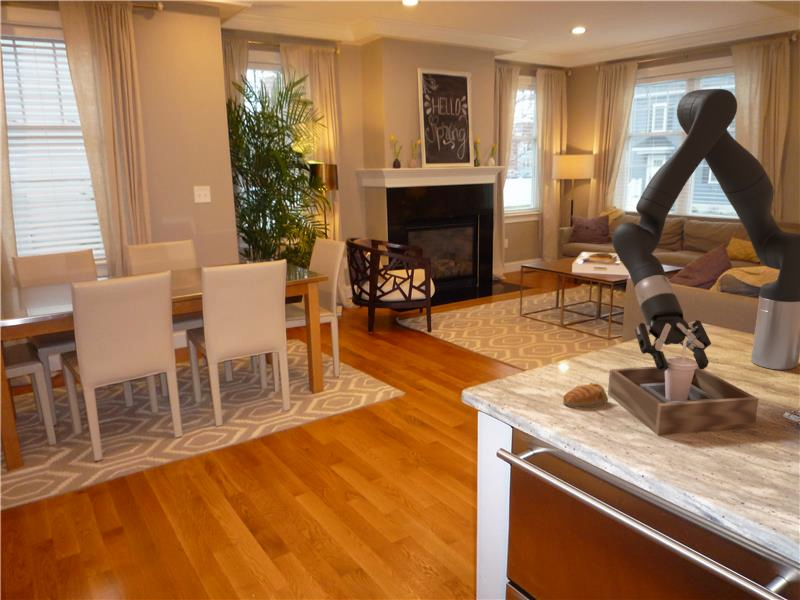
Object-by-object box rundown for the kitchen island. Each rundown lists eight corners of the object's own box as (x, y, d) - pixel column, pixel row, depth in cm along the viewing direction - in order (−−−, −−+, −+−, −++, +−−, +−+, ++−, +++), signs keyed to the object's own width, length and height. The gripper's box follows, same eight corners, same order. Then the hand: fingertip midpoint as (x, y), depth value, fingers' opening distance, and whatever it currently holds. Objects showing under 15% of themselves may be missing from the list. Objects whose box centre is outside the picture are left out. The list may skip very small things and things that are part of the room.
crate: (691, 389, 132) (693, 364, 130) (754, 427, 112) (758, 398, 111) (607, 394, 129) (609, 369, 128) (658, 435, 110) (660, 405, 109)
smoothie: (696, 412, 117) (704, 345, 114) (662, 409, 118) (669, 343, 115) (687, 400, 123) (694, 336, 120) (655, 398, 125) (661, 335, 122)
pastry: (577, 413, 121) (577, 396, 120) (554, 402, 127) (555, 385, 126) (610, 404, 125) (611, 387, 124) (587, 394, 131) (588, 378, 130)
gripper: (634, 293, 122) (660, 362, 113) (697, 290, 123) (727, 358, 115) (619, 311, 128) (643, 378, 120) (679, 308, 130) (707, 374, 121)
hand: (684, 368), depth 117 cm, fingers open, 8 cm apart
